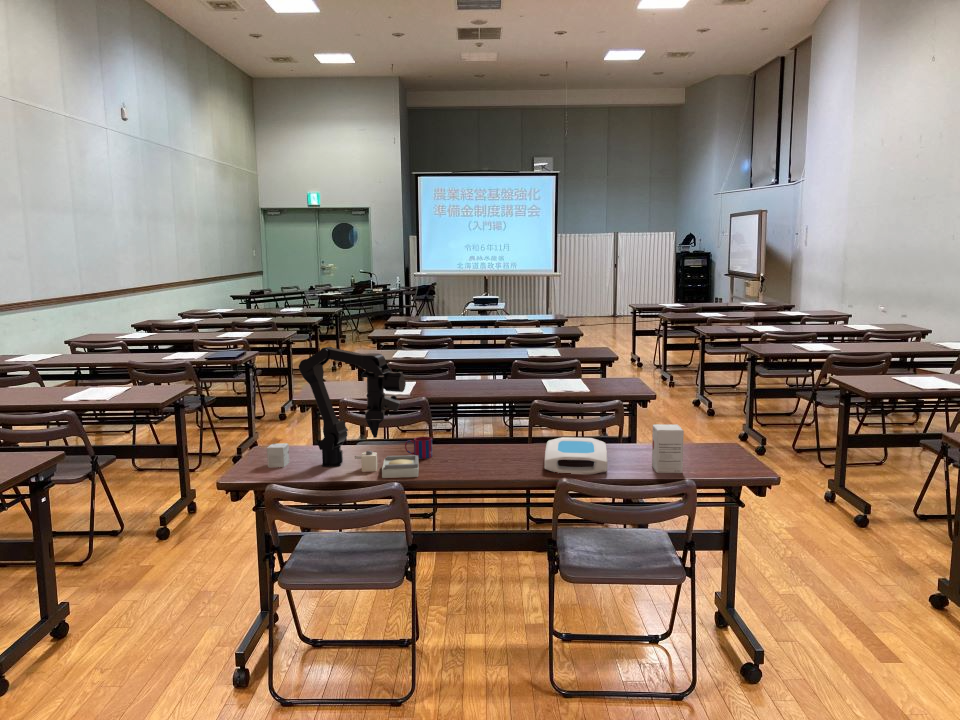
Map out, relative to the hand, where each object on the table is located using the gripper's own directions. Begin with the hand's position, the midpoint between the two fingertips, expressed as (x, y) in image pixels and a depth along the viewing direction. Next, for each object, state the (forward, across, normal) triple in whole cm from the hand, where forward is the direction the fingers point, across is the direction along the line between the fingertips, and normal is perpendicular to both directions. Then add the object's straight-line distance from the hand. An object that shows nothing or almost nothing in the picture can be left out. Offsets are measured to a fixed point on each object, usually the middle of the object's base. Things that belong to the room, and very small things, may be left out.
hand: (375, 434), depth 245 cm
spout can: (+12, -2, +3) cm, 13 cm away
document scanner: (+11, -4, -71) cm, 72 cm away
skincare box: (+13, +8, +35) cm, 38 cm away
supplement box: (+10, -17, -99) cm, 101 cm away
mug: (+12, +13, -15) cm, 23 cm away
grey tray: (+12, -6, -9) cm, 16 cm away
